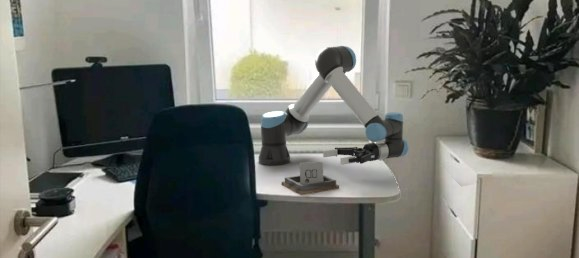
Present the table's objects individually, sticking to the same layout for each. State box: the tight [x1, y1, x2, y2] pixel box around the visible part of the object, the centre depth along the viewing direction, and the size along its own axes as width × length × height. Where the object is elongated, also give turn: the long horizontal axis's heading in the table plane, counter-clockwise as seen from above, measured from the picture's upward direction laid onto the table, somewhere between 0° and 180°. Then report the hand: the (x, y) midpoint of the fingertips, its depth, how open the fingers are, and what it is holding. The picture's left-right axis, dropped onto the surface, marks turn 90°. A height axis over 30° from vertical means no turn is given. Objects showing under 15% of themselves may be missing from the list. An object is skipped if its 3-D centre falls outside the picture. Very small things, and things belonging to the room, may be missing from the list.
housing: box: [281, 174, 340, 196], centre depth 224 cm, size 17×17×3 cm
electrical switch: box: [298, 161, 324, 185], centre depth 224 cm, size 9×5×9 cm, turn 95°
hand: (332, 157), depth 228 cm, fingers open, 13 cm apart
